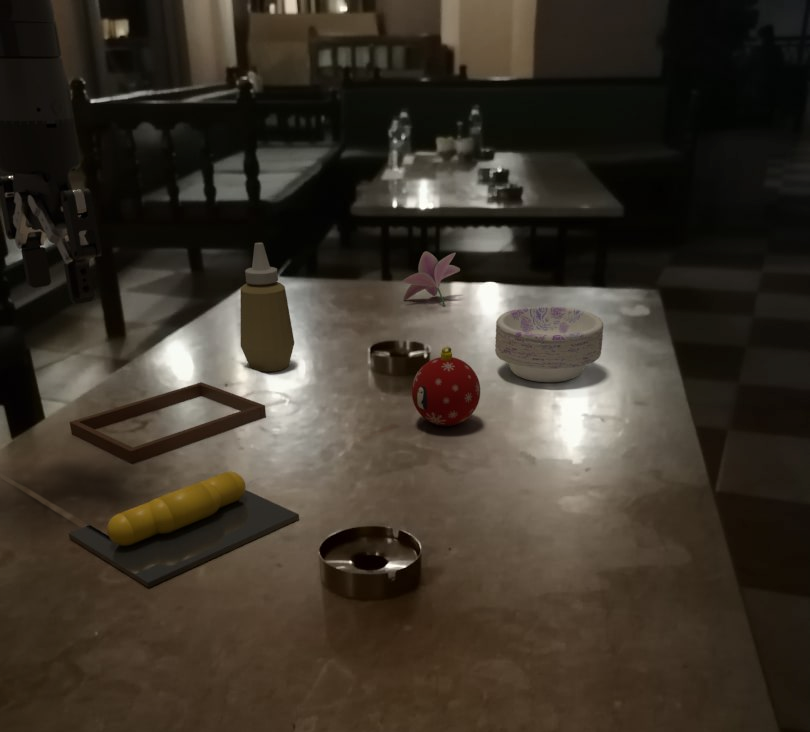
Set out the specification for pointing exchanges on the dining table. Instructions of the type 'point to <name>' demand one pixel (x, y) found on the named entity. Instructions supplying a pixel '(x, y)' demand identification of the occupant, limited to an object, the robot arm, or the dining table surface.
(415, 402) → the christmas ornament
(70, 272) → the robot arm
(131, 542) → the yellow segmented rod
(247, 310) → the squeeze bottle
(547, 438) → the dining table surface
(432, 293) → the lily
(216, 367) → the dining table surface
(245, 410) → the tray
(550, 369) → the paper bowls
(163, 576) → the board
